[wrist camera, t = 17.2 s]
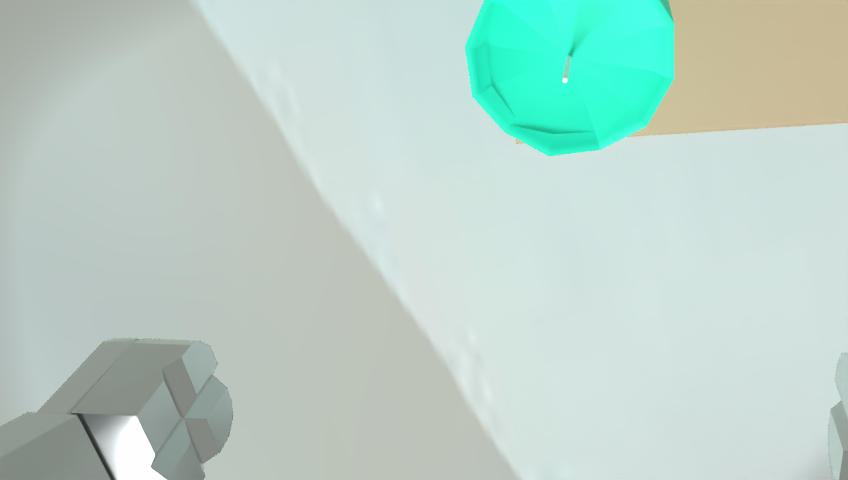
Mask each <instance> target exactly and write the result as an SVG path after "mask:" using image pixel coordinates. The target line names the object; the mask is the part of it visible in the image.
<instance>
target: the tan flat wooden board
mask: <svg viewBox="0 0 848 480" xmlns="http://www.w3.org/2000/svg"><path fill="white" fill-rule="evenodd" d="M669 5H670V9H671V13H672V17H673V21H674V80H673V82H672V84H671V85H670V87H669V89H668V91H667V92H666V94H665V96H664V97H663V99H662V101H661V103H660V104H659V106H658V108H657V110H656V111H655V113H654V115H653V116H652V118H651V120H650V122H649V123H648V125H647V127H645V128H643V129H641V130H639V131H637V132H635V133H633V134H631V135H629V136H627V137H632V136H648V135H664V134H680V133H695V132H711V131H727V130H743V129H758V128H774V127H790V126H806V125H821V124H837V123H848V0H669ZM522 143H524V142H522V141H520V140H518V139H517V138H516V144H522Z"/></svg>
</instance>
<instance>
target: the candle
mask: <svg viewBox="0 0 848 480" xmlns="http://www.w3.org/2000/svg"><path fill="white" fill-rule="evenodd" d="M465 50H466V56H467V63H468V70H469V76H470V83H471V90H472V97H473V98H474V99H475V100H476V101H477V102H478V103H479V104H480V105H481V107H482V108H483V109H484V110H485V111H486V112H487V113H488V114H489V115H490V117H491V118H492V119H493V120H494V121H495V122H496V123H497V124H498V125H499V126H500V128H501V129H502V130H503V131H504V132H506V133H507V134H509V135H511V136H513V137H515V138H517V139H518V140H520V141H522V142H524V143H526V144H528V145H529V146H531V147H533V148H535V149H537V150H538V151H540V152H542V153H544V154H546V155H548V156H555V155H563V154H570V153H578V152H586V151H594V150H601V149H603V148H605V147H607V146H609V145H611V144H613V143H615V142H617V141H619V140H621V139H623V138H625V137H627V136H629V135H631V134H633V133H635V132H637V131H639V130H641V129H643V128H645V127H647V125H648V123H649V122H650V120H651V118H652V116H653V115H654V113H655V111H656V110H657V108H658V106H659V104H660V103H661V101H662V99H663V97H664V96H665V94H666V92H667V91H668V89H669V87H670V85H671V84H672V82H673V80H674V21H673V17H672V13H671V9H670V5H669V0H484V2H483V5H482V7H481V9H480V12H479V14H478V17H477V19H476V22H475V24H474V26H473V29H472V31H471V34H470V36H469V38H468V41H467V43H466V46H465Z"/></svg>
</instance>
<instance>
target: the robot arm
mask: <svg viewBox="0 0 848 480" xmlns="http://www.w3.org/2000/svg"><path fill="white" fill-rule="evenodd" d="M217 365H218V362H217V360H216V358H215V356H214V353H213V351H212V349H211V346H210V345H208V344H206V343H204V342H201V341H188V340H165V339H130V338H129V339H128V338H113V339H110V340H107V341H104V342H102V343H101V344H100V345H99V346H98V347H97V349H96V350H95V351H94V352H93V353H92V354H91V355H90V356H89V357H88V358H87V359H86V360H85V361H84V362H83V363H82V365H81V366H80V367H79V368H78V369H77V370H76V371H75V372H74V373H73V374H72V375H71V376H70V377H69V379H67V381H66V382H65V383H64V384H63V385H62V386H61V387H60V388H59V389H58V390H57V391H56V392H55V393H54V394H53V395H52V397H51V398H50V399H49V400H48V401H47V402H46V403H45V404H44V405H43V406H42V407H41V408H40V409H39V410H38V411H37V413H34V412H33V413H32V412H27V413H25V414H23V415H21V416H19V417H18V418H16V419H14V420H12V421H10V422H8V423H6V424H4V425H2V426H0V480H204V478H205V472H204V466H203V463H205V462H206V461H208V460H209V459H211V458H212V457H214V456H215V455H217V454H218V453H220V451H221V450H222V448H223V446H224V444H225V442H226V441H227V439H228V437H229V434H230V430H231V425H232V420H233V408H232V400H231V397H230V394H229V392H228V389H227V387H226V386H225V385H224V384H223V383H221V382H220V381H219V380H218V379H217V378H216V377H215V376H214V375H213V374H214V372H215V369H216V367H217ZM835 382H836V385H837V388H838V391H839V394H840V397H841V401H840V402H839V403H838V404H837V405H835V406H834V407H833V408H832V409H831V410H830V419H829V428H828V442H829V458H830V464H831V469H832V474H833V478H834V480H848V353H841V356H840V358H839V360H838V363H837V369H836V375H835Z"/></svg>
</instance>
